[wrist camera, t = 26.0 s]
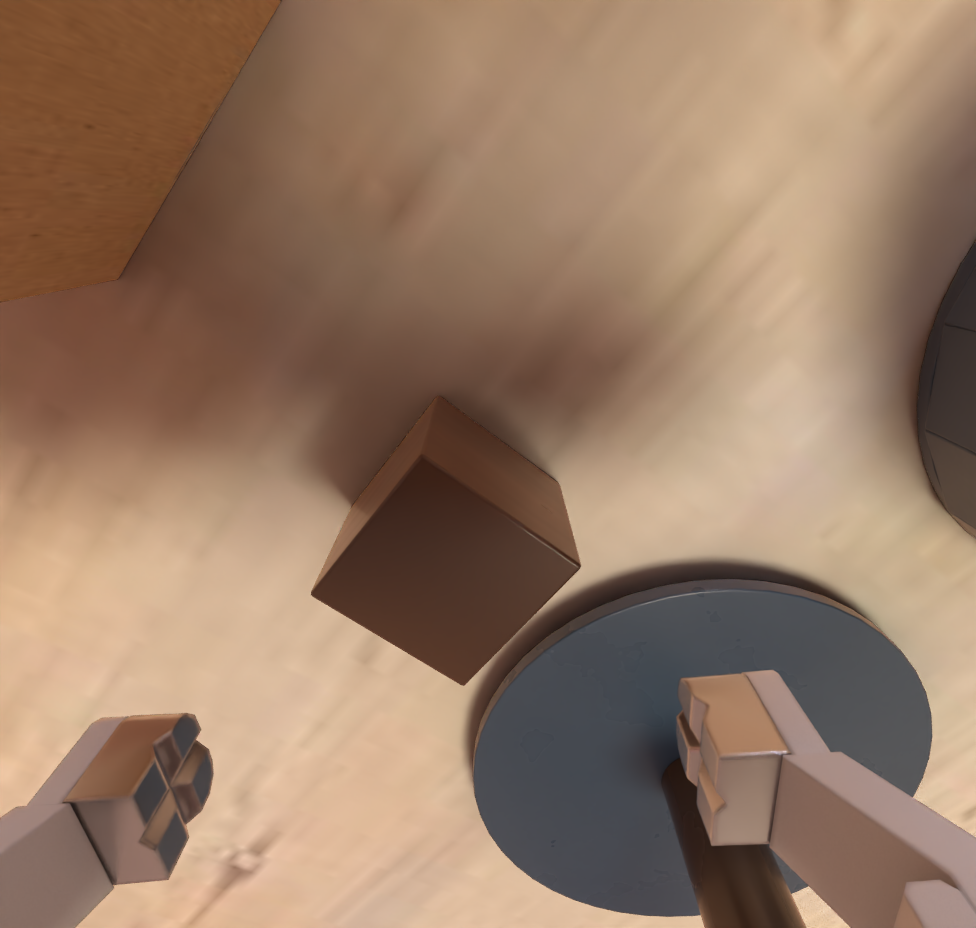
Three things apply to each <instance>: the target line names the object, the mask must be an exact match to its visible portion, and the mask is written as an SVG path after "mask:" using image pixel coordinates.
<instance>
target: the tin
mask: <svg viewBox="0 0 976 928" xmlns="http://www.w3.org/2000/svg"><path fill="white" fill-rule="evenodd" d="M917 418H918V437H919V442H920V447H921V452H922V457H923V461H924V465H925V468H926V470H927V473H928V475H929V478H930V480H931V483H932V486H933V488H934V490H935V492H936V493H937V495H938V497H939V498H940V500H941V501H942V503H943V505H944V506H945V508H946V509H947V511H948V512H949V513H950V515H951V516H952V517H953V518H954V519H955V520H956V521H957V522H958V523H959V524H960V525H961V527H962V528H963V529H964V530H965V531H967V532H968V533H969V534H971V535H972V536H973V537H975V538H976V241H975V243H974V244H973V246H972V247H971V249H970V251H969V252H968V254H967V255H966V257H965V259H964V260H963V262H962V263H961V265H960V267H959V269H958V271H957V273H956V275H955V277H954V279H953V281H952V283H951V285H950V287H949V289H948V291H947V293H946V295H945V297H944V299H943V301H942V303H941V306H940V309H939V312H938V314H937V317H936V320H935V323H934V325H933V328H932V331H931V333H930V336H929V339H928V343H927V347H926V352H925V356H924V360H923V364H922V369H921V373H920V381H919V391H918V401H917Z"/></svg>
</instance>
